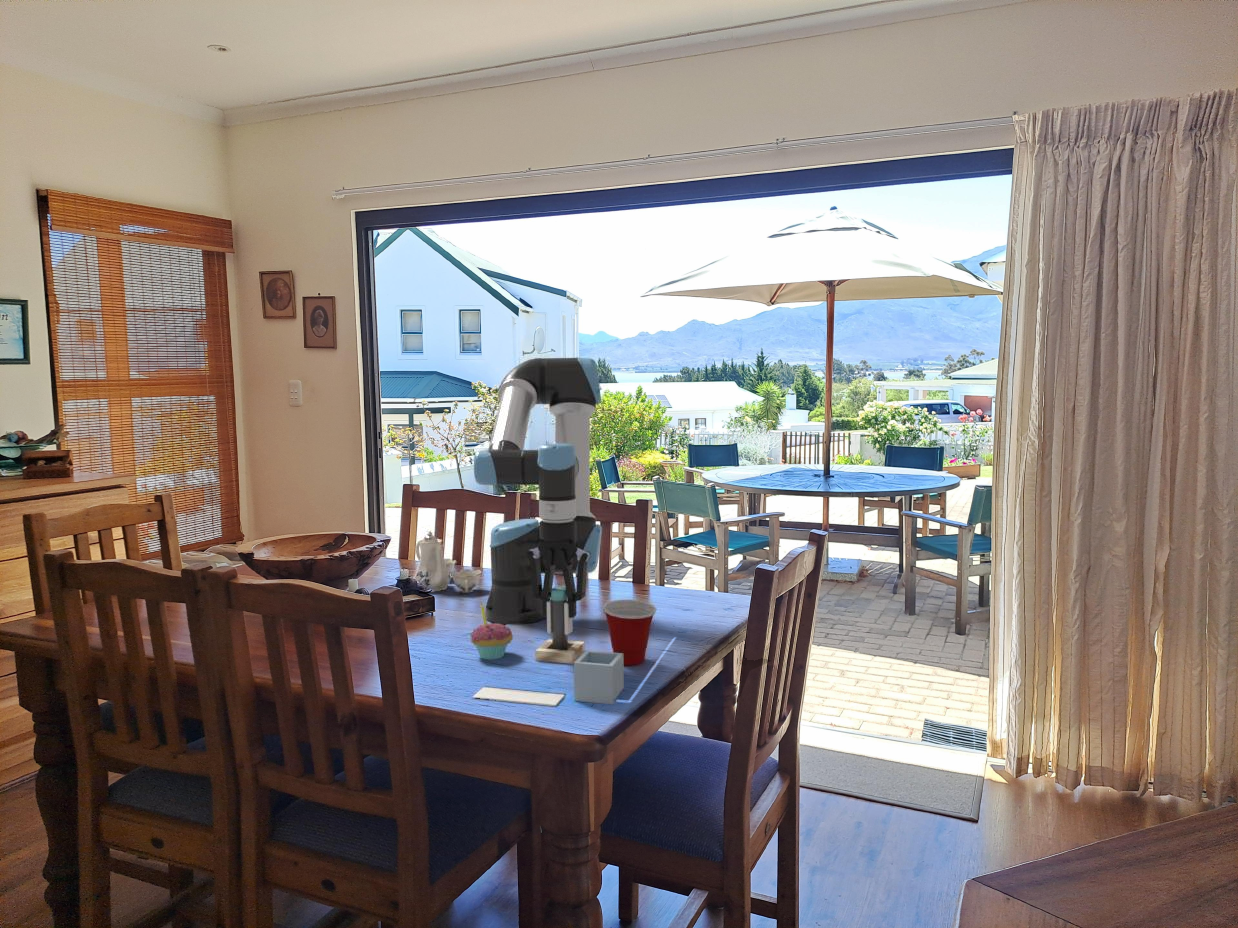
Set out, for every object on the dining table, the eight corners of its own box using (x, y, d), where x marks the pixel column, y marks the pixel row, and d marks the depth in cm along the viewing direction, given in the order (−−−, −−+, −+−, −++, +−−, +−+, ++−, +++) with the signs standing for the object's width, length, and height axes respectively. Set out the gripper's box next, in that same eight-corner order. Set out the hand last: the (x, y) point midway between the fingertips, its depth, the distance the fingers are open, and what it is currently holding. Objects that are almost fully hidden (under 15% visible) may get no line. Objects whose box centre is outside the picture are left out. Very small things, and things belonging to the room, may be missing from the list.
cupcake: (476, 666, 173) (475, 608, 172) (466, 654, 181) (465, 598, 180) (518, 660, 177) (516, 603, 175) (506, 648, 184) (505, 593, 183)
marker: (550, 657, 177) (548, 590, 175) (555, 652, 180) (554, 586, 178) (565, 658, 176) (563, 591, 174) (570, 653, 179) (569, 587, 177)
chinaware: (492, 597, 234) (496, 536, 233) (437, 601, 223) (441, 538, 223) (443, 579, 255) (446, 524, 255) (390, 582, 245) (394, 524, 244)
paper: (472, 698, 156) (472, 696, 156) (503, 672, 169) (503, 670, 169) (555, 706, 152) (555, 704, 152) (580, 679, 165) (580, 677, 165)
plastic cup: (632, 676, 166) (631, 616, 165) (592, 664, 173) (591, 606, 172) (668, 662, 174) (667, 604, 173) (628, 651, 181) (628, 596, 180)
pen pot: (574, 700, 154) (573, 662, 154) (586, 686, 161) (586, 650, 160) (612, 704, 152) (612, 665, 152) (623, 689, 159) (623, 653, 159)
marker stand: (535, 662, 175) (535, 650, 175) (549, 650, 183) (548, 638, 182) (572, 665, 173) (572, 653, 173) (584, 653, 181) (584, 641, 180)
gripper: (513, 521, 173) (516, 634, 176) (589, 524, 169) (591, 640, 171) (527, 515, 181) (530, 624, 183) (601, 517, 176) (602, 629, 179)
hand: (559, 631), depth 177 cm, fingers closed on marker, 3 cm apart
